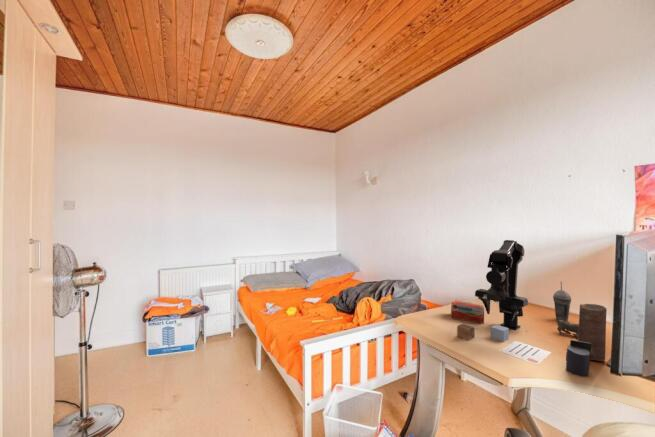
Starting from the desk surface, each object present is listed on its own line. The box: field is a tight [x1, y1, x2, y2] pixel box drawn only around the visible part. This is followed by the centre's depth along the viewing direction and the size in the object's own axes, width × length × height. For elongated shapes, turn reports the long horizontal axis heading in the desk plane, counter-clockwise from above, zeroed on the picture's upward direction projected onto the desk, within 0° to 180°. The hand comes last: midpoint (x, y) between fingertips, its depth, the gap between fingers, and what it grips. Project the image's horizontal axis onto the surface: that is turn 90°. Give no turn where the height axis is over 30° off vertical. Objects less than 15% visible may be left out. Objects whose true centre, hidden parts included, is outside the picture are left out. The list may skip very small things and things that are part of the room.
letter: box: [499, 340, 552, 366], centre depth 104 cm, size 16×12×1 cm
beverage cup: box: [552, 281, 572, 323], centre depth 139 cm, size 7×7×20 cm
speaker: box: [565, 339, 591, 378], centre depth 90 cm, size 8×6×10 cm
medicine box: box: [450, 299, 485, 325], centre depth 140 cm, size 15×8×8 cm, turn 60°
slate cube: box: [490, 324, 510, 343], centre depth 116 cm, size 5×5×5 cm
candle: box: [577, 303, 607, 362], centre depth 100 cm, size 8×7×20 cm
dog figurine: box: [556, 317, 579, 339], centre depth 120 cm, size 12×6×7 cm, turn 42°
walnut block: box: [456, 322, 476, 341], centre depth 116 cm, size 5×5×5 cm
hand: (499, 317), depth 116 cm, fingers open, 9 cm apart
